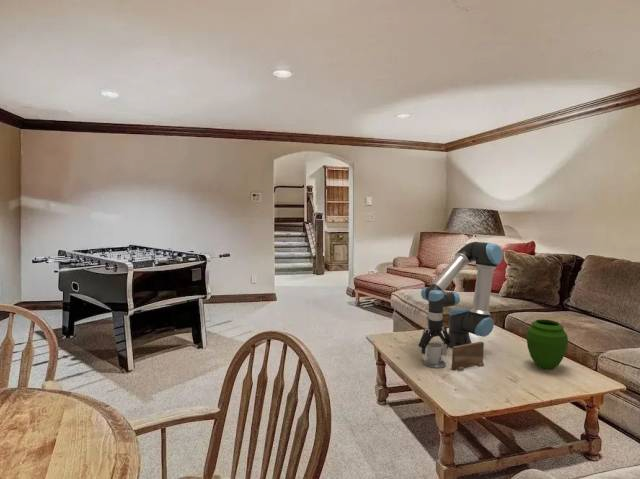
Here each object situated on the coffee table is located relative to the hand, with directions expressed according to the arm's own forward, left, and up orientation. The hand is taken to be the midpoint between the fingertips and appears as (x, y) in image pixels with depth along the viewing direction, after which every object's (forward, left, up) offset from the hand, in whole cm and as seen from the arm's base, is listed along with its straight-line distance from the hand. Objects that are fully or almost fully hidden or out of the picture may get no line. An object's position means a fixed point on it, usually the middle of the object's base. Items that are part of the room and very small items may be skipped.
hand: (434, 357), depth 220 cm
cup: (0, 0, -3) cm, 3 cm away
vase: (+28, +51, -4) cm, 58 cm away
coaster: (0, 0, -4) cm, 4 cm away
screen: (+10, +14, -4) cm, 18 cm away
